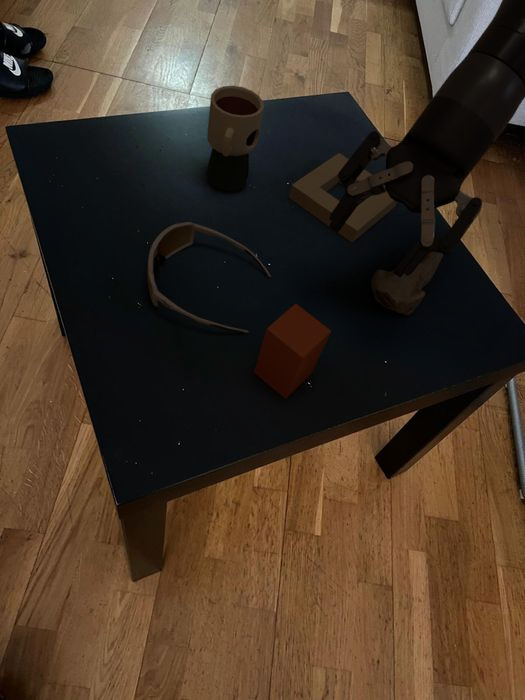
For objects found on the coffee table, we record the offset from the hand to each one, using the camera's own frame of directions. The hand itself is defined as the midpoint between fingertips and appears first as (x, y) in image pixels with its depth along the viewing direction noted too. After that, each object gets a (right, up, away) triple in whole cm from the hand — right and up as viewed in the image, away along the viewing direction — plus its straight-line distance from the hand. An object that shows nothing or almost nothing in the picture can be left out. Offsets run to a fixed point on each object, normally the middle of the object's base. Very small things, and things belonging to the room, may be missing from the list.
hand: (364, 251), depth 57 cm
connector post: (-9, -13, +7) cm, 17 cm away
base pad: (+1, +12, +26) cm, 28 cm away
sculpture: (+9, -2, +18) cm, 20 cm away
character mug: (-16, +15, +24) cm, 33 cm away
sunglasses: (-18, -2, +12) cm, 22 cm away
